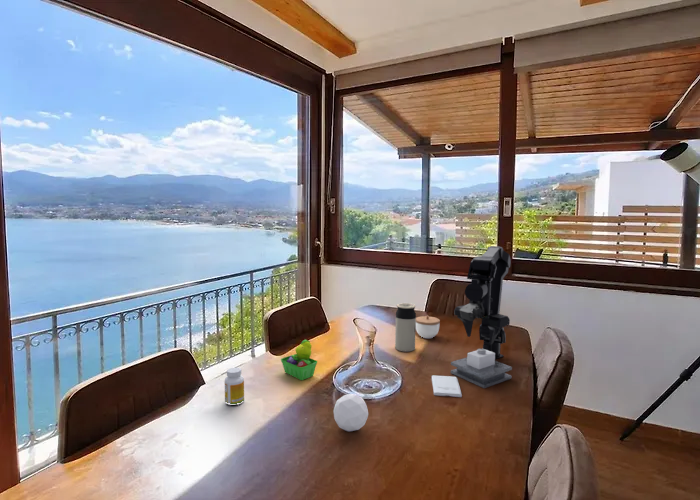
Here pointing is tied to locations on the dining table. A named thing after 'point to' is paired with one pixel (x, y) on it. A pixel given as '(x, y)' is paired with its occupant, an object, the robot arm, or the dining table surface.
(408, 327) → the travel mug
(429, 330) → the lidded jar
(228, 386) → the supplement bottle
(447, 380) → the external hard drive
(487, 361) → the block
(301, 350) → the fruit basket
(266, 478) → the dining table surface
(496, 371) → the stand
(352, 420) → the white low-poly ball
